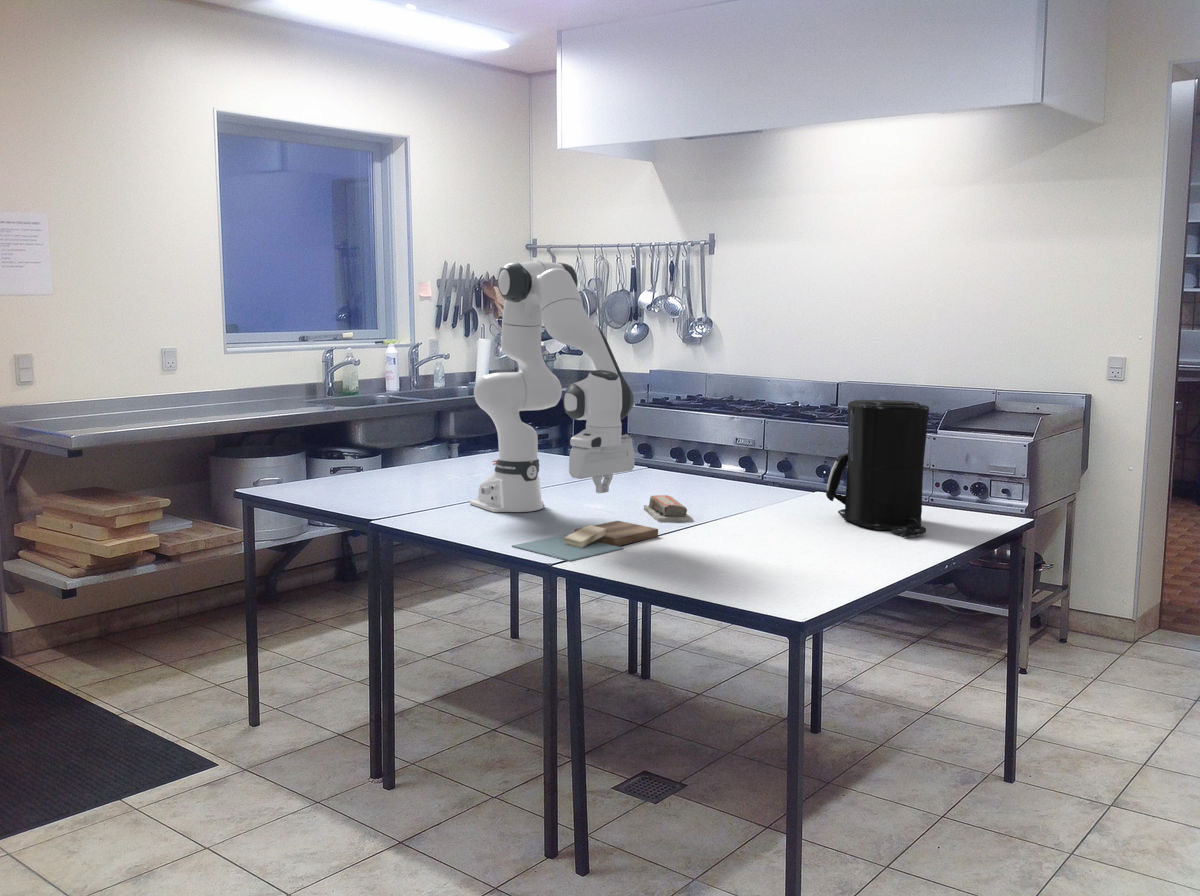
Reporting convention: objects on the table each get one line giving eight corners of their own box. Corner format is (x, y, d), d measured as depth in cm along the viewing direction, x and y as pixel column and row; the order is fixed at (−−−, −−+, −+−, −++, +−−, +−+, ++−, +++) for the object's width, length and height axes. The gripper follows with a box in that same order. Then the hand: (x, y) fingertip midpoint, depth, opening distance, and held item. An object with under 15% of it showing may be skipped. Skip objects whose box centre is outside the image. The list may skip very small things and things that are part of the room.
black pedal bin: (876, 510, 302) (882, 394, 298) (965, 531, 274) (972, 404, 270) (816, 517, 291) (821, 397, 287) (902, 540, 263) (909, 407, 259)
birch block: (581, 547, 249) (580, 541, 249) (564, 543, 253) (563, 537, 253) (607, 534, 255) (606, 528, 255) (589, 530, 259) (588, 524, 259)
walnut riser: (574, 537, 262) (574, 529, 261) (617, 528, 273) (617, 520, 273) (615, 546, 252) (615, 538, 252) (658, 536, 264) (658, 528, 263)
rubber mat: (511, 546, 251) (511, 545, 251) (565, 535, 264) (565, 534, 263) (570, 561, 237) (570, 560, 237) (623, 548, 250) (623, 547, 250)
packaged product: (642, 494, 299) (676, 493, 301) (642, 510, 299) (676, 510, 301) (658, 506, 281) (693, 505, 283) (657, 523, 282) (693, 522, 284)
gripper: (622, 432, 265) (621, 485, 267) (565, 439, 250) (564, 495, 253) (641, 434, 261) (639, 489, 263) (583, 442, 246) (582, 499, 248)
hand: (602, 492), depth 258 cm, fingers closed
